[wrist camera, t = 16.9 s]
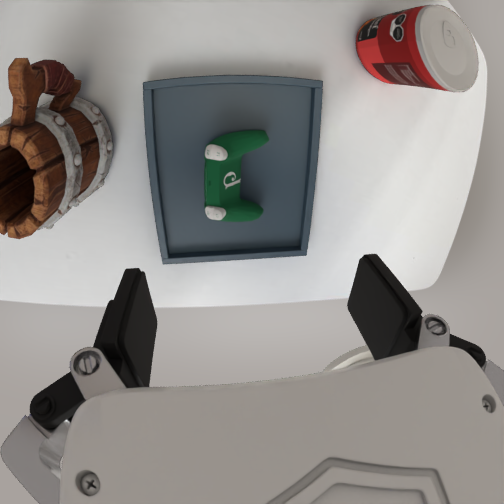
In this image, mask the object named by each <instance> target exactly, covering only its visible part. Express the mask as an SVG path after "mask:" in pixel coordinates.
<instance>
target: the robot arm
mask: <svg viewBox="0 0 504 504" xmlns="http://www.w3.org/2000/svg"><path fill="white" fill-rule="evenodd" d="M347 306H348V310H349V312H350V314H351V316H352V318H353V320H354V321H355V323H356V325H357V327H358V329H359V331H360V333H361V334H362V336H363V338H364V340H365V342H366V344H367V346H368V348H369V350H370V352H371V354H372V356H373V358H367V359H363V360H360V361H358V362H355V363H353V364H351V365H349V366H348V367H345V368H340V369H335V370H330V371H325V372H320V373H314V374H308V375H302V376H295V377H289V378H282V379H274V380H266V381H256V382H247V383H237V384H236V383H235V384H222V385H205V386H179V387H149V383H150V374H151V366H152V358H153V351H154V344H155V337H156V330H157V318H156V314H155V310H154V307H153V303H152V299H151V296H150V292H149V288H148V284H147V280H146V276H145V273H144V271H142V272H141V271H140V269H139V268H131V269H126V270H125V272H124V274H123V277H122V279H121V282H120V285H119V287H118V290H117V293H116V295H115V298H114V300H110V301H109V303H108V305H107V308H106V310H105V313H104V316H103V319H102V322H101V325H100V327H99V330H98V334H97V336H96V340H95V343H94V346H93V347H87V348H83V349H81V350H79V351H77V352H76V353H75V354H74V355H73V357H72V358H71V361H70V370H71V371H70V372H69V373H68V374H66V375H65V376H63V377H62V378H60V379H59V380H57V381H56V382H54V383H53V384H51V385H50V386H48V387H47V388H45V389H44V390H42V391H41V392H39V393H38V394H37V395H35V396H34V398H33V399H32V401H31V404H30V413H31V414H30V415H29V416H28V417H27V416H26V415H25V416H24V417H23V418H22V420H21V421H20V422H19V423H18V425H17V426H16V427H15V428H14V430H13V431H12V432H11V434H10V435H9V436H8V437H7V439H6V440H5V441H4V443H3V445H2V447H1V457H2V459H3V461H4V463H5V464H6V466H7V467H8V468H9V470H10V471H11V472H12V473H13V475H14V476H15V477H16V478H17V479H18V481H19V482H20V483H21V484H22V485H23V487H24V488H25V489H26V490H27V491H28V492H29V493H30V494H31V495H32V497H33V498H34V499H35V500H36V501H37V502H38V503H39V504H504V370H502V369H501V368H500V367H498V366H497V365H495V364H494V363H493V362H492V361H490V360H488V361H486V356H485V354H484V352H483V350H482V349H481V348H480V347H479V346H477V345H475V344H473V343H470V342H468V341H466V340H463V339H461V338H459V337H456V336H454V335H451V334H450V329H449V326H448V324H447V322H446V321H445V320H444V319H442V318H441V317H439V316H437V315H433V314H428V315H425V316H424V317H422V316H421V313H422V310H421V309H420V307H419V306H418V305H417V303H416V302H415V301H414V299H413V298H412V297H411V296H410V294H409V293H408V292H407V290H406V289H405V288H404V287H403V285H402V284H401V283H400V282H399V280H398V279H397V278H396V277H395V275H394V274H393V273H392V272H391V271H390V269H389V268H388V267H387V266H386V265H385V263H384V262H383V261H382V260H381V259H380V258H379V256H378V255H377V254H367V255H364V256H363V257H362V258H361V259H360V260H359V264H358V267H357V271H356V275H355V279H354V282H353V286H352V290H351V293H350V296H349V300H348V305H347ZM62 457H63V461H62V469H61V468H60V461H61V458H62Z"/></svg>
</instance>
